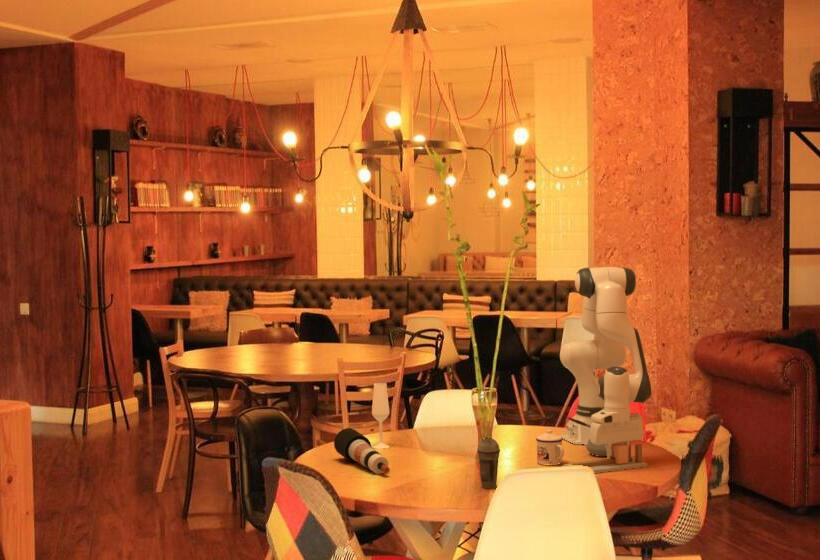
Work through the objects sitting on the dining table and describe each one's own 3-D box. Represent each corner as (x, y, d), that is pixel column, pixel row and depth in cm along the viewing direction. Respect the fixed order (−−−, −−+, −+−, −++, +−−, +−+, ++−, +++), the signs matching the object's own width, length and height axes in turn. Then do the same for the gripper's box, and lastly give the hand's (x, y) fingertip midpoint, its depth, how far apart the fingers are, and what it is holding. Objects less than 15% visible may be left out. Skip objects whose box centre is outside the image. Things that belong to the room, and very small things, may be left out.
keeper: (606, 460, 361) (606, 443, 360) (616, 458, 362) (616, 442, 362) (618, 464, 355) (618, 446, 354) (628, 462, 356) (628, 445, 356)
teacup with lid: (531, 462, 366) (530, 429, 365) (551, 459, 370) (551, 426, 370) (552, 468, 355) (552, 435, 355) (573, 465, 360) (573, 431, 360)
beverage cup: (499, 483, 336) (498, 422, 335) (501, 489, 328) (501, 426, 327) (476, 484, 335) (475, 422, 334) (478, 489, 328) (477, 426, 327)
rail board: (563, 467, 356) (563, 447, 356) (625, 460, 367) (625, 439, 367) (583, 475, 346) (583, 453, 345) (647, 466, 356) (647, 445, 356)
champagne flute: (389, 448, 392) (388, 385, 391) (371, 448, 392) (370, 385, 391) (390, 445, 399) (389, 382, 398) (372, 445, 399) (371, 382, 398)
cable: (380, 491, 347) (368, 466, 343) (340, 460, 377) (329, 437, 374) (405, 474, 350) (393, 449, 347) (364, 445, 380) (353, 422, 377)
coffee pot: (605, 450, 384) (605, 409, 384) (625, 455, 374) (625, 414, 373) (557, 456, 375) (556, 414, 374) (576, 462, 364) (575, 419, 364)
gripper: (636, 411, 365) (636, 450, 366) (587, 416, 357) (587, 456, 357) (647, 413, 359) (647, 453, 360) (597, 419, 351) (598, 459, 352)
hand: (617, 455), depth 358 cm, fingers closed on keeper, 4 cm apart
